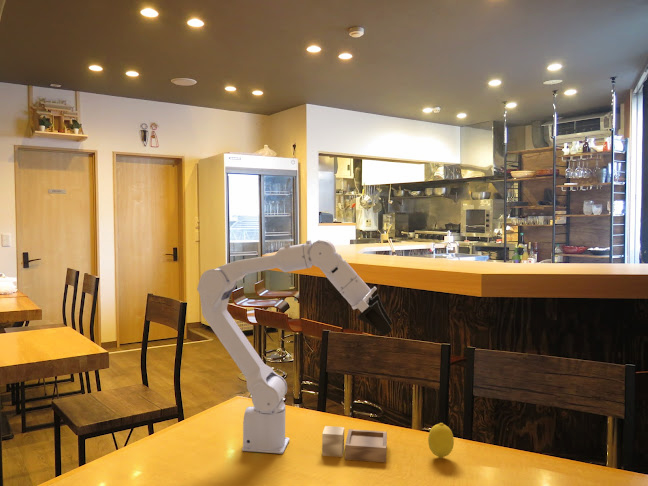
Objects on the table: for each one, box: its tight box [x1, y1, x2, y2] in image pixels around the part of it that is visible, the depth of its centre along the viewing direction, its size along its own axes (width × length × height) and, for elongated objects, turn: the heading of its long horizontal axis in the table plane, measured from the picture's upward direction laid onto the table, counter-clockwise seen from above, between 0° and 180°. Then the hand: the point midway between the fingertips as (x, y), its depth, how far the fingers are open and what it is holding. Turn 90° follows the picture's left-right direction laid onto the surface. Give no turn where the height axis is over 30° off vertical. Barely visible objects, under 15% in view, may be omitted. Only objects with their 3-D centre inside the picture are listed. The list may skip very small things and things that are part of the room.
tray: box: [344, 428, 388, 463], centre depth 119 cm, size 9×9×3 cm
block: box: [321, 425, 345, 458], centre depth 119 cm, size 4×4×5 cm
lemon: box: [427, 422, 455, 459], centre depth 116 cm, size 6×6×8 cm
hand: (388, 329), depth 117 cm, fingers open, 7 cm apart
